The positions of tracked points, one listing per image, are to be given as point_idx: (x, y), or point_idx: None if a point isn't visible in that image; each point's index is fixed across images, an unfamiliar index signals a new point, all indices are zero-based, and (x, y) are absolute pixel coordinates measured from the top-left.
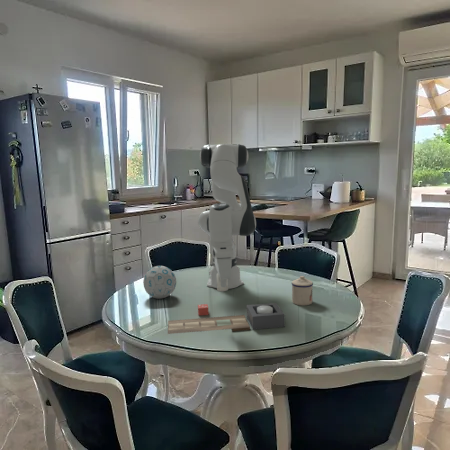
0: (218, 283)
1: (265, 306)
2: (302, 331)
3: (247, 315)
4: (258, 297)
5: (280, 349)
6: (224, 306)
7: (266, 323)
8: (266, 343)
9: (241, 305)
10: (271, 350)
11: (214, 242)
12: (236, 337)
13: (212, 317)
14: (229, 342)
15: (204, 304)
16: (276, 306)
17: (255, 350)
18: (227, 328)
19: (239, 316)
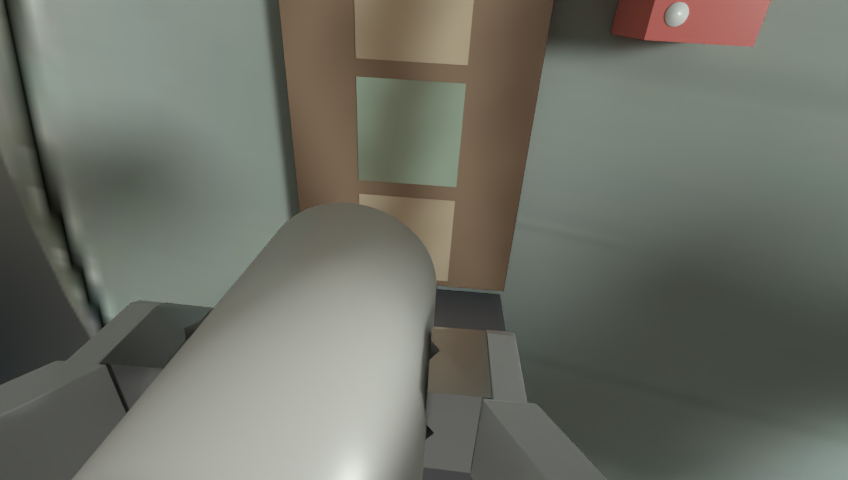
0: (229, 292)
1: None
2: None
3: (474, 305)
4: (782, 425)
5: (90, 326)
6: (769, 205)
7: None
8: (145, 293)
9: (712, 313)
10: (74, 292)
11: None
12: (212, 170)
13: (539, 61)
14: (140, 113)
15: (762, 8)
16: (423, 472)
17: (61, 227)
18: (303, 140)
19: (486, 258)
